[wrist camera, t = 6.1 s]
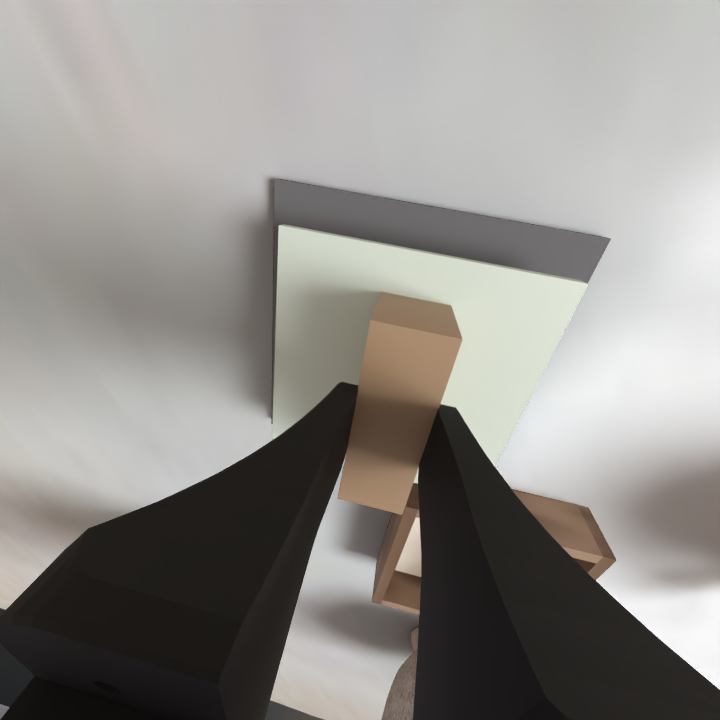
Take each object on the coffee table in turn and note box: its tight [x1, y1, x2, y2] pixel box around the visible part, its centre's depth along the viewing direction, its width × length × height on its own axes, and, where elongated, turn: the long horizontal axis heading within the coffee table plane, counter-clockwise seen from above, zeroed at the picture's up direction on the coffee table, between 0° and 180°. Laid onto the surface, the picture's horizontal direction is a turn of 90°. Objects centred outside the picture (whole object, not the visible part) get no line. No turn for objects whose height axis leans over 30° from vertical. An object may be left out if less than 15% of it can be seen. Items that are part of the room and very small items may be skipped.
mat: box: [272, 179, 611, 424], centre depth 14 cm, size 12×12×1 cm
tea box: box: [372, 483, 616, 615], centre depth 19 cm, size 10×10×3 cm
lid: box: [272, 224, 588, 515], centre depth 11 cm, size 10×10×4 cm
